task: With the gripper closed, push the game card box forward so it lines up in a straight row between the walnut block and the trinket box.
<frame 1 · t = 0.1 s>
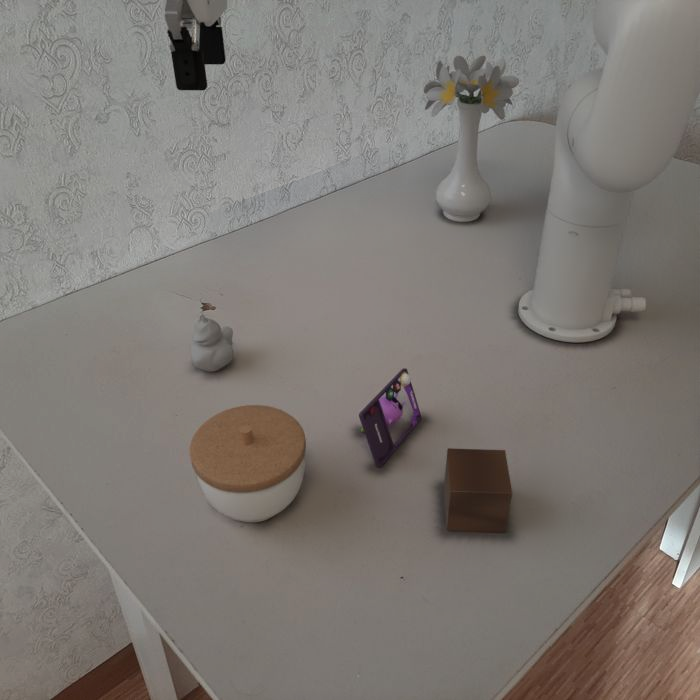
hand: (202, 75, 80), 31 cm above the table, tool pointing down, fingers open, 9 cm apart
flower vase: (460, 213, 121), on the table
game card: (382, 436, 78), on the table
walnut block: (473, 509, 69), on the table
trinket box: (255, 499, 71), on the table
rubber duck: (215, 364, 89), on the table
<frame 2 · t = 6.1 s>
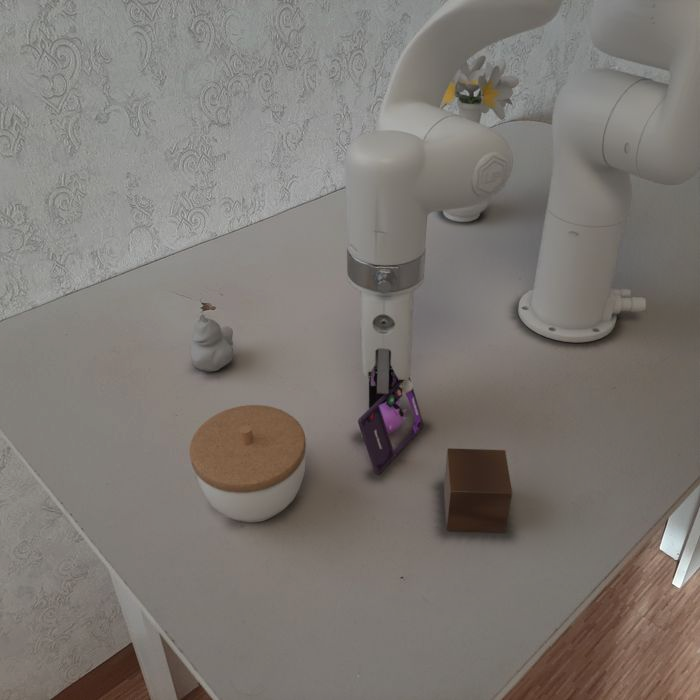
hand: (383, 405, 80), 1 cm above the table, tool pointing down, fingers closed
game card: (383, 442, 77), on the table, touching gripper
everything else where it was.
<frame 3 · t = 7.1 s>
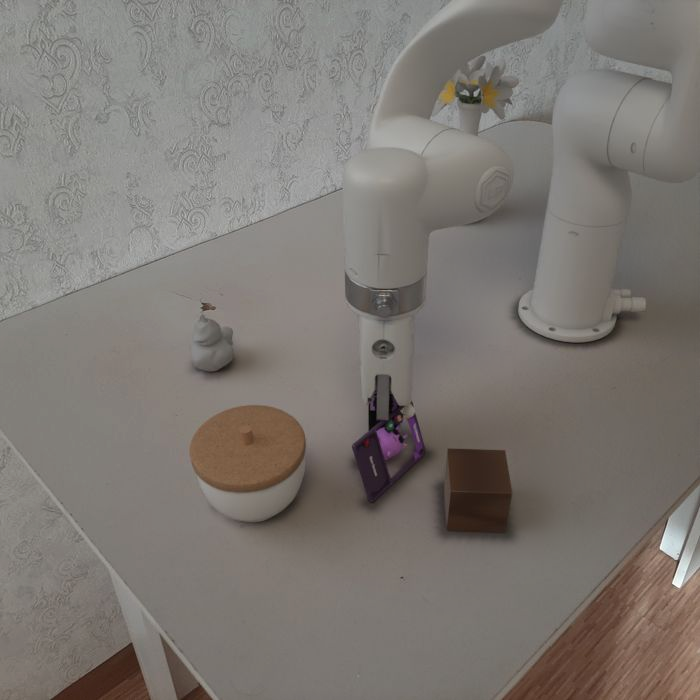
hand: (383, 429, 77), 1 cm above the table, tool pointing down, fingers closed
game card: (382, 468, 74), on the table, touching gripper
everything else where it was.
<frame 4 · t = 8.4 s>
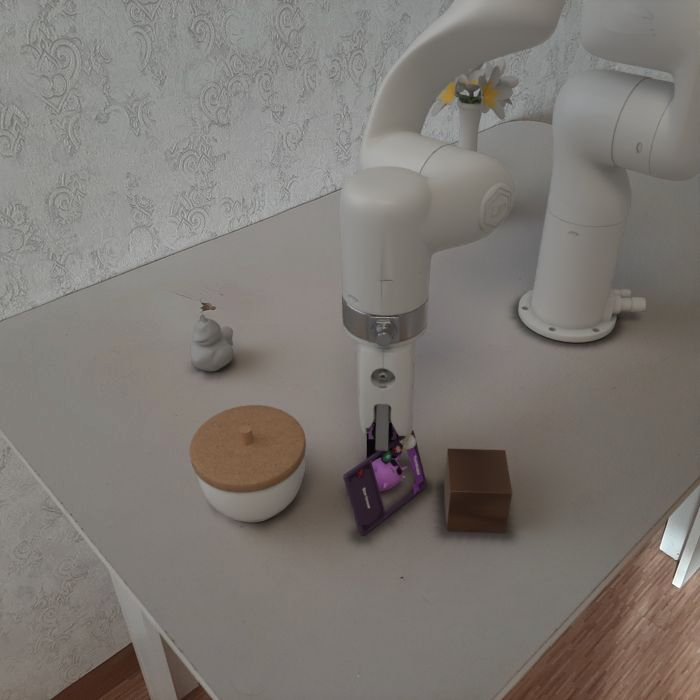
hand: (382, 457, 74), 1 cm above the table, tool pointing down, fingers closed
game card: (378, 499, 71), on the table, touching gripper
everything else where it was.
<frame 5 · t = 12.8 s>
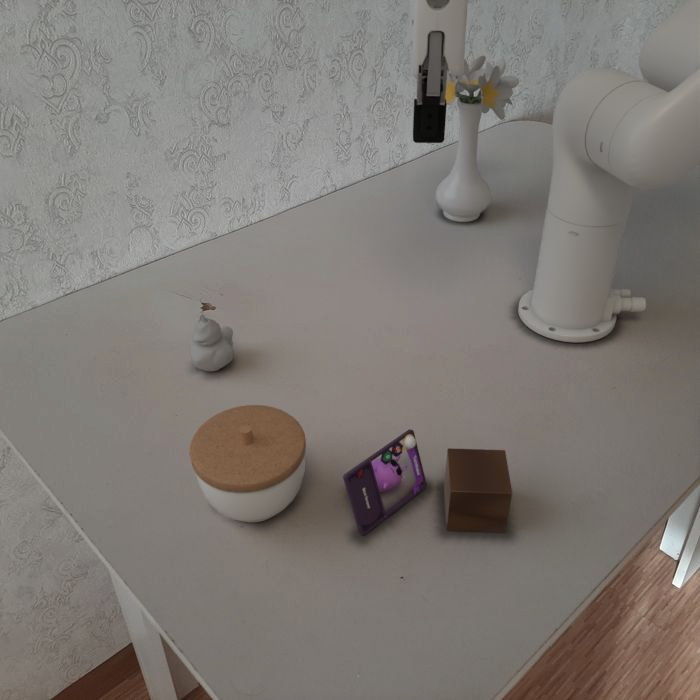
hand: (428, 139, 74), 27 cm above the table, tool pointing down, fingers closed
game card: (378, 499, 71), on the table
everything else where it was.
at the end: game card 1.0 cm from the target spot, on the table; game card tilted 0°; trinket box moved 0.2 cm from its start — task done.
